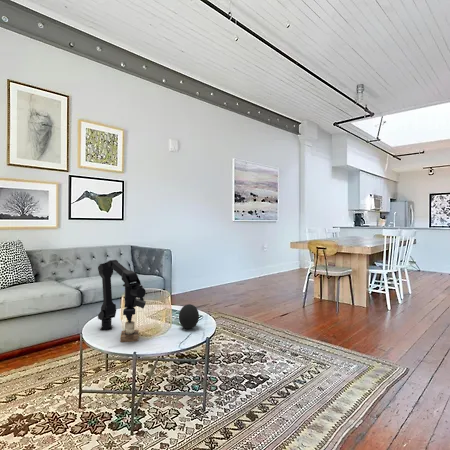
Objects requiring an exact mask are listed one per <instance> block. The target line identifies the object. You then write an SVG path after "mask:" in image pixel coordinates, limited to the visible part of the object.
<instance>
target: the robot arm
mask: <svg viewBox="0 0 450 450" xmlns="http://www.w3.org/2000/svg"><path fill="white" fill-rule="evenodd" d="M97 271H98V275H99V276H100V277H101V280H102V281H101V282H102V284H101V285H102V299H103V303H102V304H101V307H100V312H99V313H98V314H97V319H98V320H100V321H101V325H100V326H101V327H100V330H99V331H110V330H112V329H113V325H112V319H113V318H116V314H117V305H116V303H114V302H113V295H112V292H113V291H112V290H113V289H112V276H113V274H114V272H116V273H117V274H118V275H119V276H120V277H121V280H122V282H123V284H122V287H124V309H123V310H122V312H123V313H122V315H123V316H125V317H126V319H127V322H129V323H131V321H133V320H132V319H133V315H136V310H137V309H136V307H138V308H141V309H145V306H146V303H147V301H146V300H145V298H144V297H146V292H147V291H146V289H145V288H144V286H143V285H142V283H141V280H140V278H139V276H138V273H137V272H135V271H133V270H129V269H128V268H126V267H125V266H124V265H123V264H121V263H120V262H119V261H118V260H117V259H112V260H108V261H106V262H104V263H100V264H99V265H98V267H97Z"/></svg>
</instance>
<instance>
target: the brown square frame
mask: <svg viewBox="0 0 450 450" xmlns="http://www.w3.org/2000/svg"><path fill="white" fill-rule="evenodd" d="M139 333H140V332H139V329H134V334H132V335H126V334H125V330H121V333H120V340H119V341H120V343H130V342H139V336H138V335H139Z"/></svg>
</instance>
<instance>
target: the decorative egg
mask: <svg viewBox="0 0 450 450" xmlns="http://www.w3.org/2000/svg"><path fill="white" fill-rule="evenodd" d="M199 319H200V313H199V310H198V308H197V307H196V306H195V305H194V304H190V303H188V304H185V305H183V306H182V307H181V308H180V311H179V313H178V320H179V324H180V325H181V327H182V328H185V329H186V330H190V329H191V330H192V329H194V328H195V327H196V325H198V324H199V323H198V322H199Z"/></svg>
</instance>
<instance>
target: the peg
mask: <svg viewBox="0 0 450 450" xmlns="http://www.w3.org/2000/svg"><path fill="white" fill-rule="evenodd" d="M124 324H125V325H124V331H125V334H126V335H132V334H134V330H135V325H136V324H135V321H133V320H131V323H129V322H128V321H125V323H124Z"/></svg>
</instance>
